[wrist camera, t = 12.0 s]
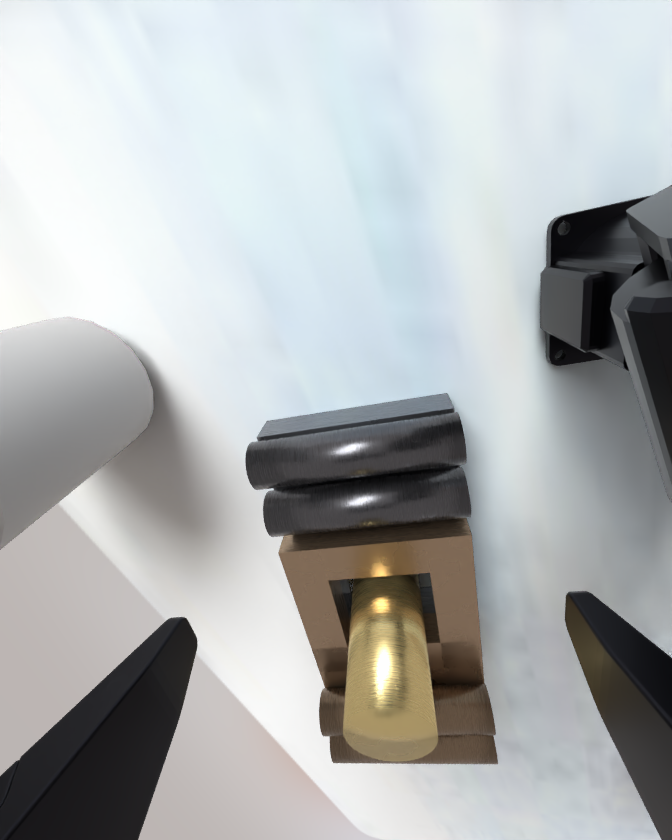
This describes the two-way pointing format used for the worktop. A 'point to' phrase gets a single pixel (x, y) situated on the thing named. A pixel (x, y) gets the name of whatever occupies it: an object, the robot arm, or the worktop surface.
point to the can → (63, 412)
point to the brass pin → (389, 672)
